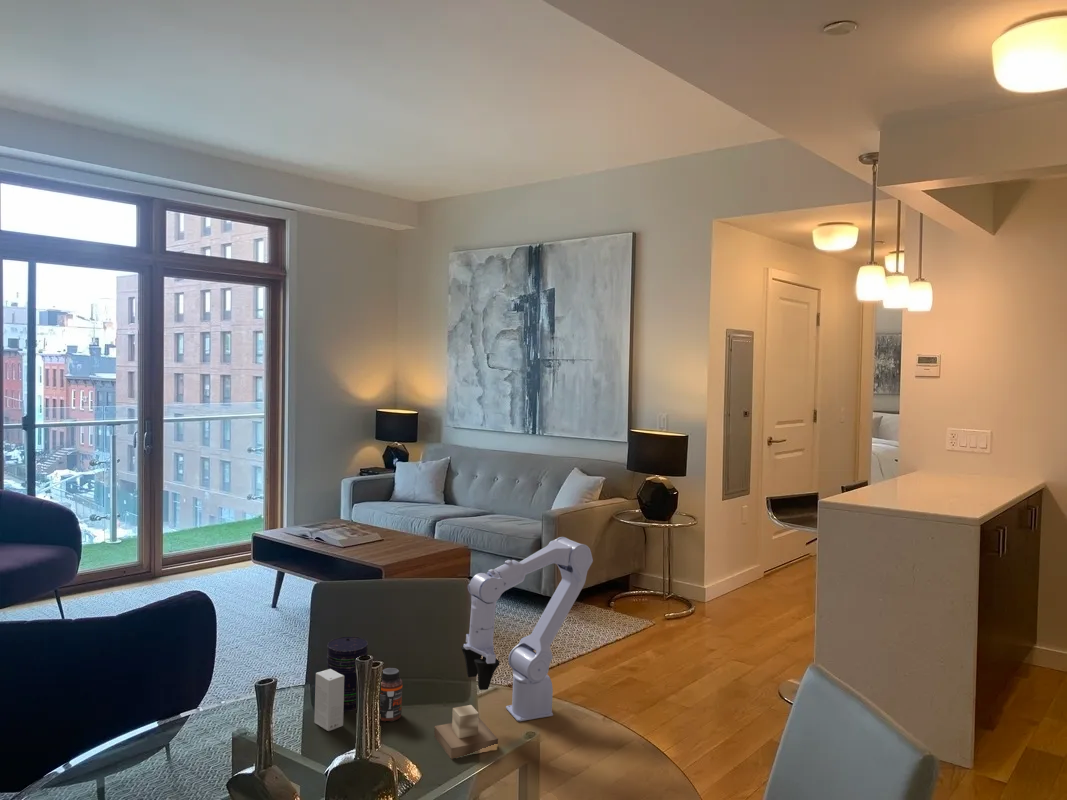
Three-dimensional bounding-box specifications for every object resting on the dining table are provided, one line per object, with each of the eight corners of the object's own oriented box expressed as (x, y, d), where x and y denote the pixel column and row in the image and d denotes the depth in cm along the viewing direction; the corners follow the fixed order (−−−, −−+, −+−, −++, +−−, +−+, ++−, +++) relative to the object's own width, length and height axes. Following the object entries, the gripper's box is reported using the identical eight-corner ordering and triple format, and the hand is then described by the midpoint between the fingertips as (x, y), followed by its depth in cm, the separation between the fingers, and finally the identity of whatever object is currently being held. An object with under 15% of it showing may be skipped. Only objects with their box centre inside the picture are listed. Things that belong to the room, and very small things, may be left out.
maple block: (470, 725, 181) (471, 704, 181) (477, 734, 177) (478, 713, 177) (452, 729, 179) (452, 708, 179) (459, 738, 175) (459, 716, 175)
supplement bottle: (396, 724, 186) (397, 677, 185) (372, 721, 187) (373, 674, 186) (405, 713, 192) (406, 667, 191) (382, 710, 193) (383, 664, 192)
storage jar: (366, 710, 192) (368, 650, 191) (324, 712, 190) (326, 652, 189) (366, 692, 202) (367, 635, 201) (326, 695, 200) (327, 637, 199)
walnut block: (478, 730, 186) (479, 717, 186) (497, 752, 176) (498, 738, 176) (434, 738, 181) (434, 726, 181) (451, 761, 171) (451, 748, 171)
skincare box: (343, 726, 184) (345, 675, 183) (327, 732, 181) (329, 680, 180) (329, 717, 188) (330, 667, 187) (313, 722, 185) (314, 672, 184)
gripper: (455, 616, 190) (451, 672, 191) (476, 637, 177) (472, 696, 178) (483, 615, 193) (479, 669, 194) (505, 635, 180) (501, 693, 181)
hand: (477, 682), depth 186 cm, fingers open, 7 cm apart
